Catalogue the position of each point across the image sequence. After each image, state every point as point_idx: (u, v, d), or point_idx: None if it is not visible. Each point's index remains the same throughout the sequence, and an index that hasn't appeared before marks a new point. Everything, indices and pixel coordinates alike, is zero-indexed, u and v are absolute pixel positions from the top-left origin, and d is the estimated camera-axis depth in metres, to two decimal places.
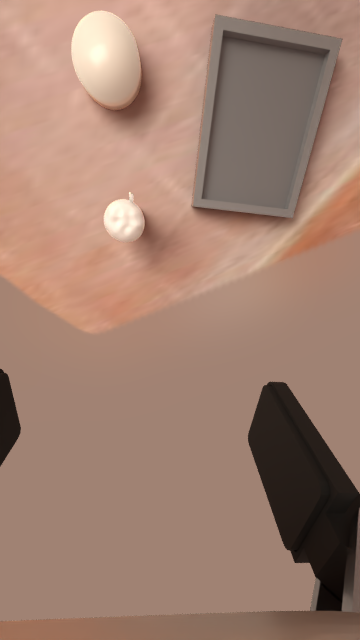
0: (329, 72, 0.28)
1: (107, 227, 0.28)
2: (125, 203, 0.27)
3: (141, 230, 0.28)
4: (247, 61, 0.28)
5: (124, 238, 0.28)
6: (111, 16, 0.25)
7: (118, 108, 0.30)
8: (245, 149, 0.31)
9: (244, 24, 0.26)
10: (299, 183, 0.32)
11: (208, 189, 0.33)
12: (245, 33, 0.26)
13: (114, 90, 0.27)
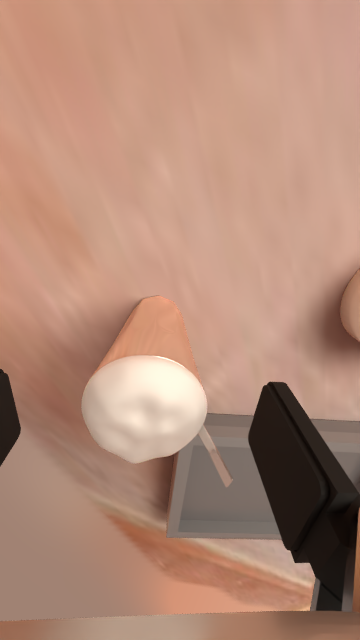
0: None
1: (121, 379, 0.08)
2: (196, 426, 0.09)
3: None
4: (349, 468, 0.22)
5: (91, 424, 0.08)
6: None
7: (344, 308, 0.16)
8: (255, 476, 0.22)
9: None
10: (209, 536, 0.24)
11: None
12: None
13: None
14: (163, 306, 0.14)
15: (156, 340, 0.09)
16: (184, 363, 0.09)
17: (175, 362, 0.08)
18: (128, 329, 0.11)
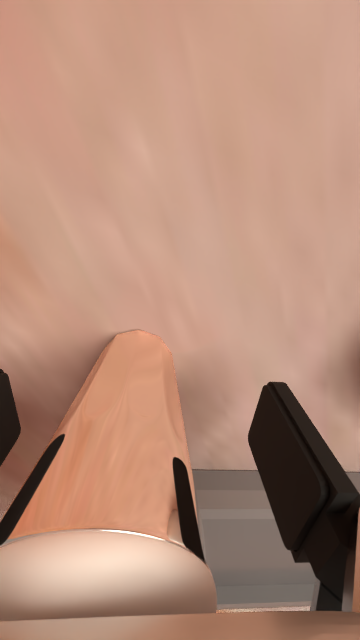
0: None
1: None
2: None
3: None
4: None
5: None
6: None
7: None
8: (266, 541, 0.17)
9: None
10: None
11: None
12: None
13: None
14: (143, 352, 0.09)
15: (117, 459, 0.05)
16: (170, 525, 0.04)
17: (150, 537, 0.04)
18: (77, 413, 0.06)
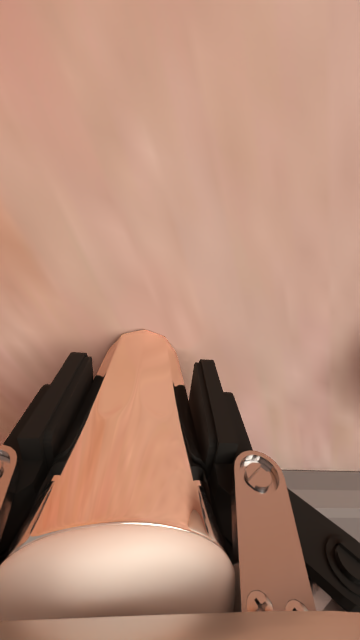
0: None
1: (52, 613, 0.03)
2: None
3: None
4: None
5: None
6: None
7: None
8: None
9: None
10: None
11: None
12: None
13: None
14: (150, 351, 0.09)
15: (137, 455, 0.05)
16: (193, 517, 0.04)
17: (176, 529, 0.04)
18: (91, 411, 0.07)
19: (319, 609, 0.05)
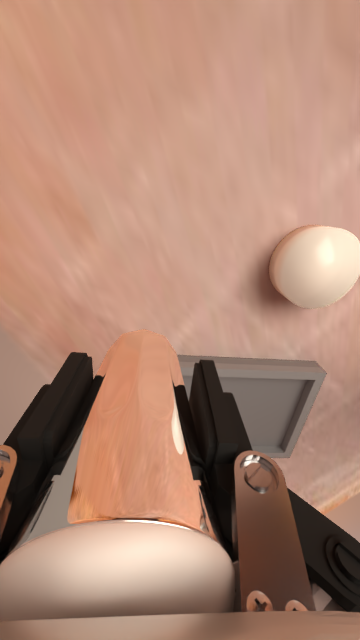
0: (270, 455, 0.32)
1: (53, 610, 0.03)
2: None
3: None
4: (288, 396, 0.29)
5: None
6: (353, 281, 0.22)
7: (270, 271, 0.23)
8: None
9: (314, 395, 0.28)
10: None
11: None
12: (308, 396, 0.28)
13: (292, 278, 0.21)
14: (150, 350, 0.09)
15: (138, 454, 0.05)
16: (193, 515, 0.04)
17: (176, 526, 0.04)
18: (92, 411, 0.07)
19: (319, 609, 0.05)
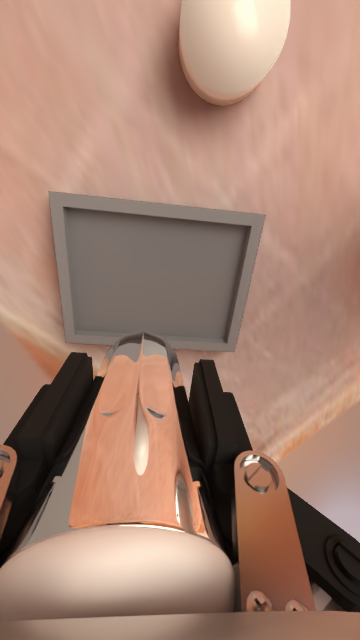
0: (210, 347, 0.27)
1: (53, 616, 0.03)
2: None
3: None
4: (224, 260, 0.24)
5: None
6: (281, 41, 0.16)
7: (179, 51, 0.18)
8: (138, 269, 0.24)
9: (253, 251, 0.23)
10: (106, 341, 0.26)
11: (82, 219, 0.22)
12: (246, 253, 0.23)
13: (196, 31, 0.16)
14: (150, 352, 0.09)
15: (138, 457, 0.05)
16: (193, 518, 0.04)
17: (176, 531, 0.04)
18: (91, 413, 0.07)
19: (319, 609, 0.05)
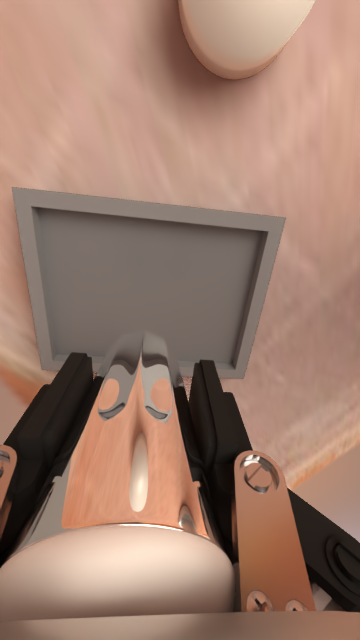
0: None
1: (53, 615, 0.03)
2: None
3: None
4: (233, 271, 0.20)
5: None
6: None
7: (179, 4, 0.14)
8: (129, 283, 0.19)
9: (270, 262, 0.18)
10: None
11: (58, 222, 0.17)
12: (261, 265, 0.18)
13: None
14: (150, 352, 0.09)
15: (137, 457, 0.05)
16: (193, 518, 0.04)
17: (176, 530, 0.04)
18: (91, 413, 0.07)
19: (319, 609, 0.05)
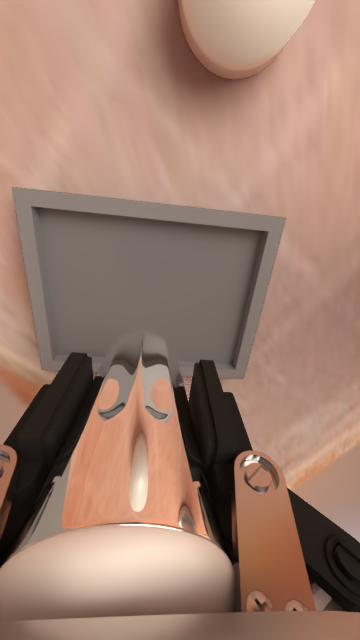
0: None
1: (53, 615, 0.03)
2: None
3: None
4: (233, 271, 0.20)
5: None
6: None
7: (179, 4, 0.14)
8: (129, 283, 0.19)
9: (270, 262, 0.18)
10: None
11: (58, 222, 0.17)
12: (261, 265, 0.18)
13: None
14: (150, 352, 0.09)
15: (137, 457, 0.05)
16: (193, 518, 0.04)
17: (176, 530, 0.04)
18: (91, 413, 0.07)
19: (319, 609, 0.05)
